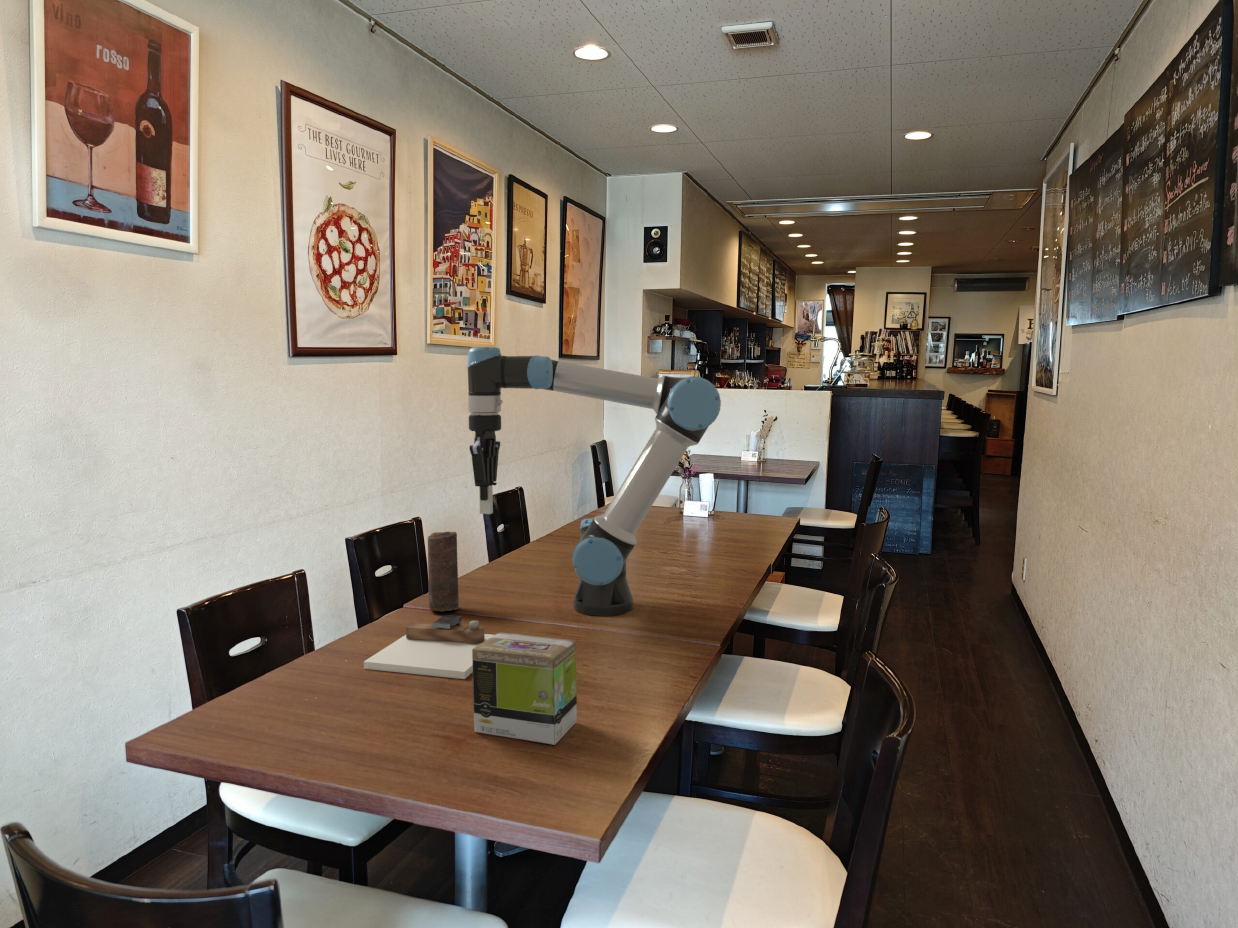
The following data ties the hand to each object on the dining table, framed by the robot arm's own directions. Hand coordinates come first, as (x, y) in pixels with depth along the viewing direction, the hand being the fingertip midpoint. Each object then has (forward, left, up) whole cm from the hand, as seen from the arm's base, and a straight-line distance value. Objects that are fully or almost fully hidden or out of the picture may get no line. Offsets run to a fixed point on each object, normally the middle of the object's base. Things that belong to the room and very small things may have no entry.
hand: (486, 513), depth 189 cm
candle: (+14, -5, -27) cm, 30 cm away
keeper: (+2, +18, -25) cm, 31 cm away
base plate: (+1, +24, -26) cm, 36 cm away
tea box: (-29, +52, -27) cm, 65 cm away
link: (+2, +19, -25) cm, 31 cm away
